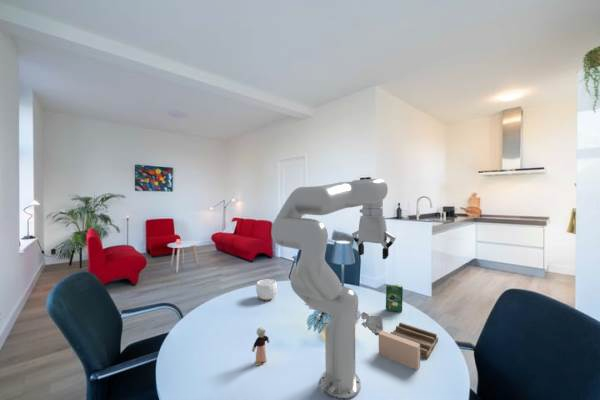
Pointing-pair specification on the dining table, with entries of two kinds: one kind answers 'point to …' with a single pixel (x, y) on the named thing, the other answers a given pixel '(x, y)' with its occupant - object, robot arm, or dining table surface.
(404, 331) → the rack
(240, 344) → the dining table surface
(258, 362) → the grandmother figurine
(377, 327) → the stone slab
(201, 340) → the dining table surface
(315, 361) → the dining table surface
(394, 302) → the coffee box
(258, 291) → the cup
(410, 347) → the tan flat block
